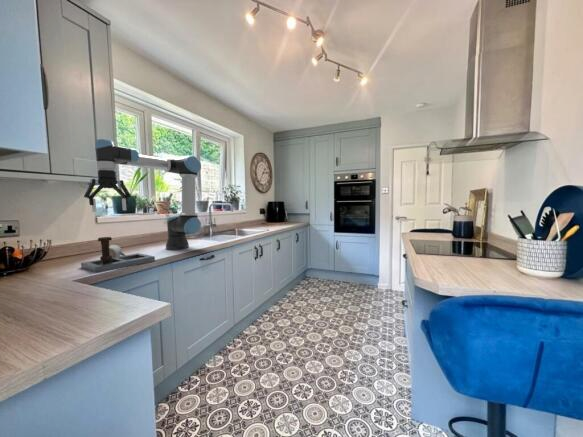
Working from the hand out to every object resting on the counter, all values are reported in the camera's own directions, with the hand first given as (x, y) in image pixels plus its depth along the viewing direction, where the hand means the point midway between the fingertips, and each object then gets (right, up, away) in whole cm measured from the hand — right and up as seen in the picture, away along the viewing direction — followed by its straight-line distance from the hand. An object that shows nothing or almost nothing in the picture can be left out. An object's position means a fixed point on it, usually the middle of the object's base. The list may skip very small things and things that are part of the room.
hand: (110, 211), depth 128 cm
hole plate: (+4, -28, +1) cm, 29 cm away
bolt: (+1, -29, -4) cm, 29 cm away
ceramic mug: (-10, -28, +17) cm, 34 cm away
